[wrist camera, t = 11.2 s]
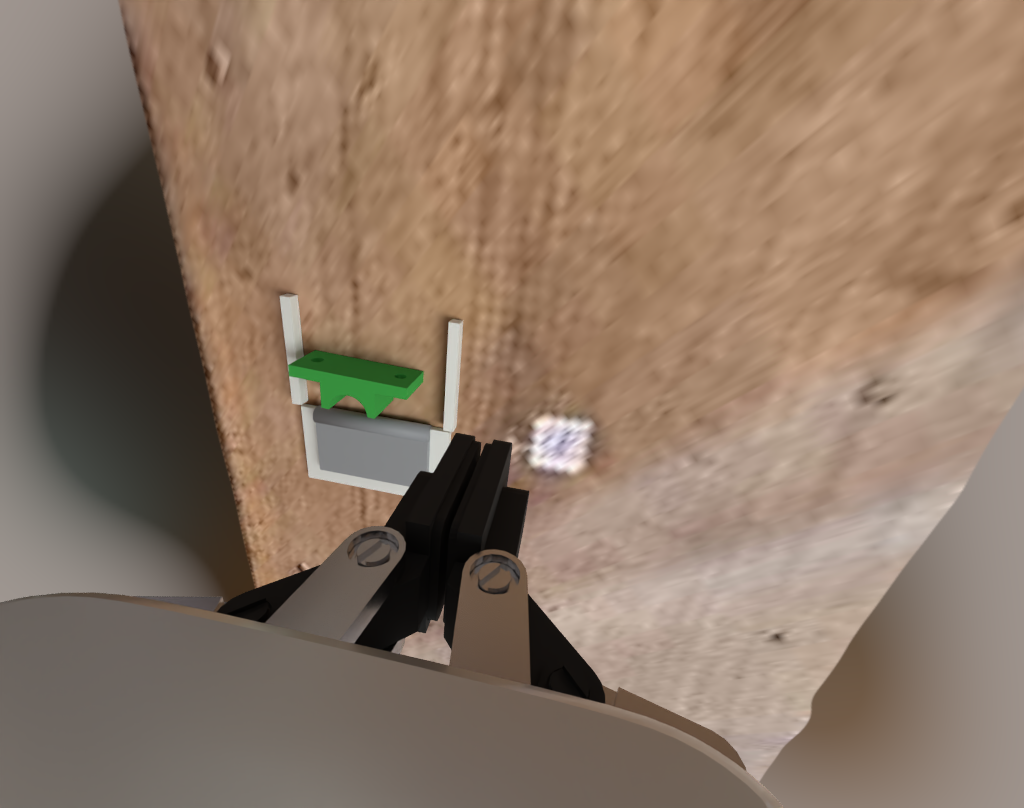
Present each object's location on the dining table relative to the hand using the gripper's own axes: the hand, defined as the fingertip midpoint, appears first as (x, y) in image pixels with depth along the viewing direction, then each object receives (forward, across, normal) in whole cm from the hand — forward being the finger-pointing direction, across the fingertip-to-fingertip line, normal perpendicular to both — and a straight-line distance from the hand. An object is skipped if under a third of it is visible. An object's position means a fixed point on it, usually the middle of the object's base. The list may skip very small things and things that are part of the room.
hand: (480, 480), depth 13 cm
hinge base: (+27, +16, +14) cm, 34 cm away
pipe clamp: (+28, +17, +10) cm, 34 cm away
